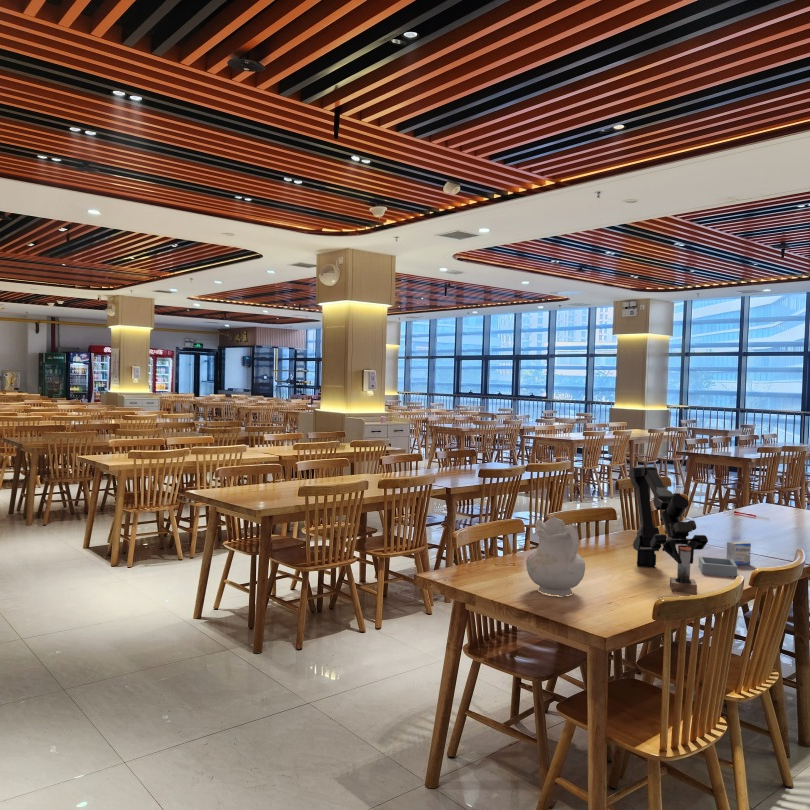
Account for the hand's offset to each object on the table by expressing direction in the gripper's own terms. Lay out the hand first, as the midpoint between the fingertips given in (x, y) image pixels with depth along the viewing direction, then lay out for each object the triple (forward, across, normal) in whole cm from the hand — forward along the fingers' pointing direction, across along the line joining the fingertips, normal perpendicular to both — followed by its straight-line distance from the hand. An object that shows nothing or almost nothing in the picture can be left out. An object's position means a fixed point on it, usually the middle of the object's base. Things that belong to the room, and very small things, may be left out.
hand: (685, 563), depth 241 cm
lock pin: (+4, 0, +6) cm, 7 cm away
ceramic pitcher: (+10, -46, +4) cm, 47 cm away
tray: (-11, +25, +25) cm, 37 cm away
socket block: (+6, 0, +8) cm, 10 cm away
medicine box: (-20, +40, +34) cm, 56 cm away
